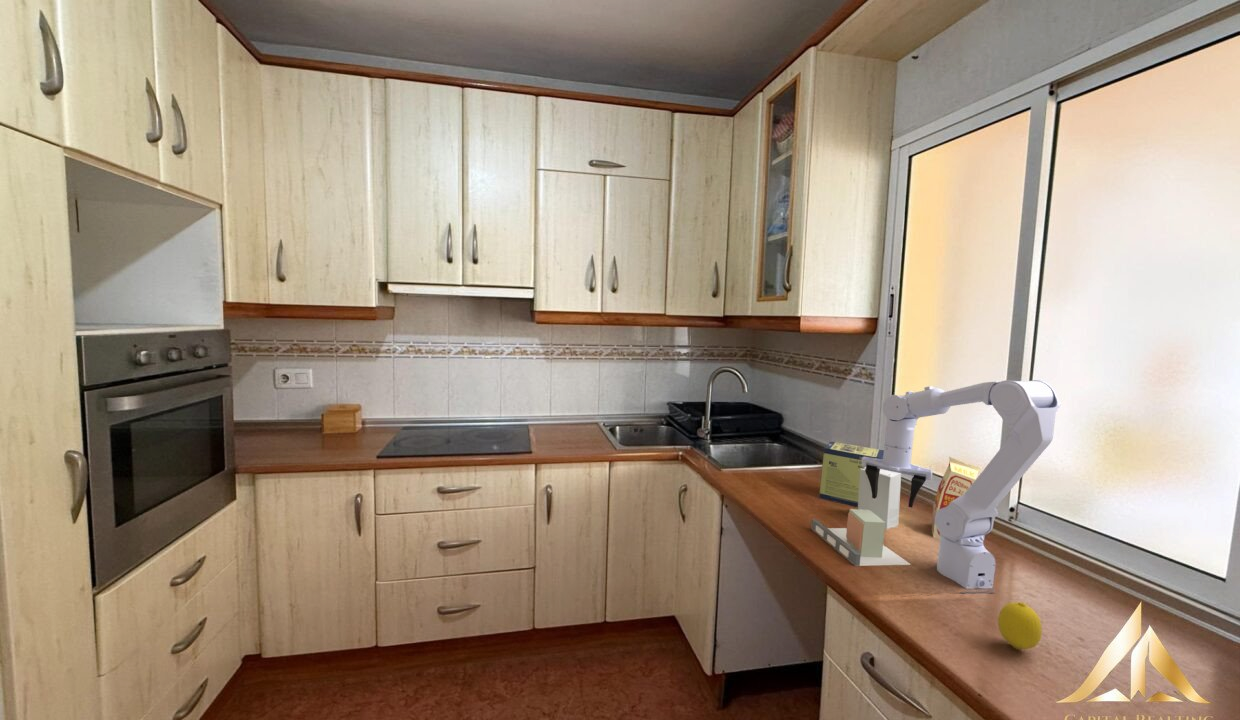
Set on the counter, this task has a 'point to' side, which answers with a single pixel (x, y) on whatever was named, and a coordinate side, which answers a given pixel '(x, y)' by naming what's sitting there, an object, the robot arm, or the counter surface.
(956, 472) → the milk carton
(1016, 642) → the lemon
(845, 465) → the protein box
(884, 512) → the skincare box
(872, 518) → the box
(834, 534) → the shelf board
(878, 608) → the counter surface
